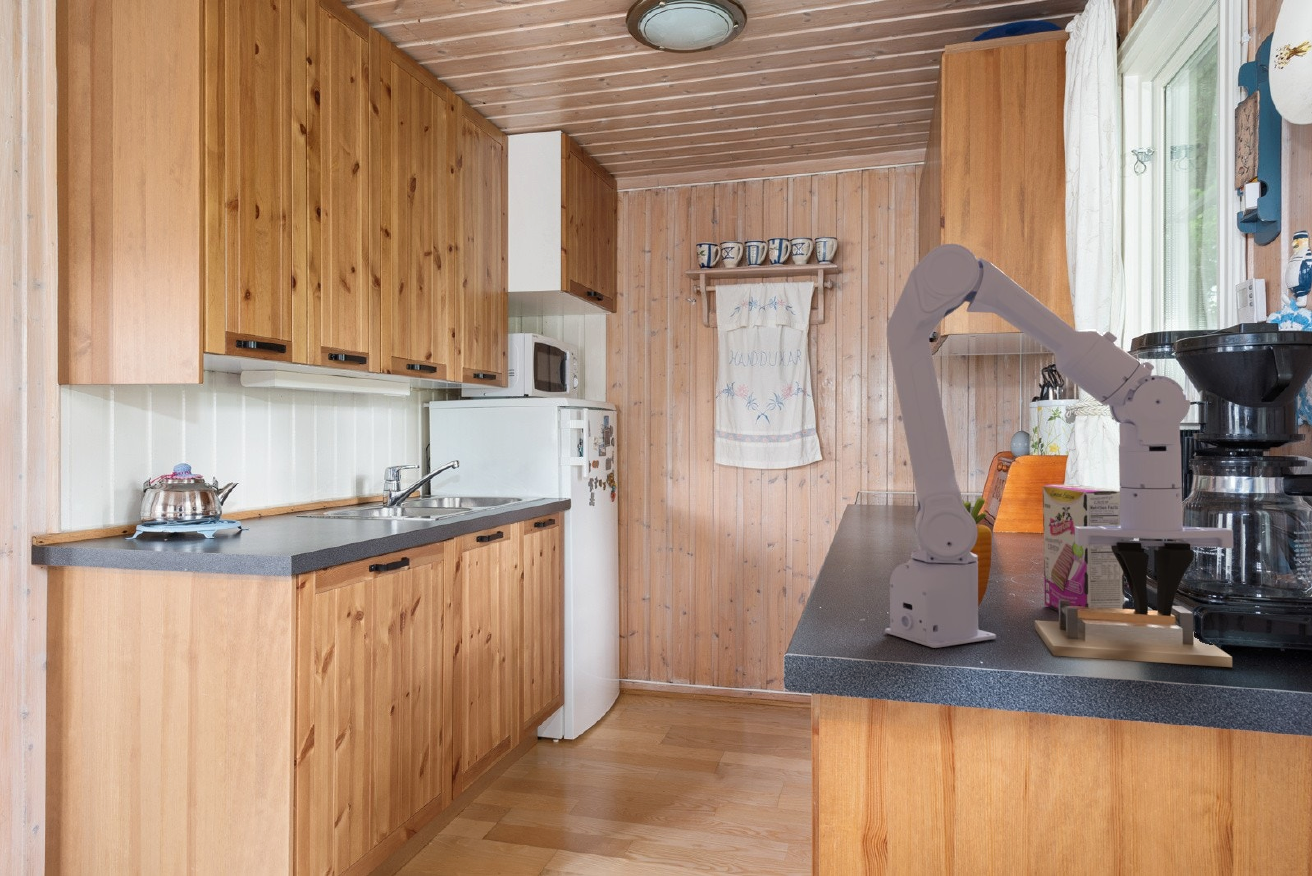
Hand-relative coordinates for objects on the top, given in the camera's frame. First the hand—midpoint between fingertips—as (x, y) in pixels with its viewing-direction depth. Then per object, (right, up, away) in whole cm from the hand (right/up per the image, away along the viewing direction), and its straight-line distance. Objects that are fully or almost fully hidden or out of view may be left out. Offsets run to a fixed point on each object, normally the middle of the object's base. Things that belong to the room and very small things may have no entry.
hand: (1152, 613), depth 86 cm
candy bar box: (+1, -4, +16) cm, 16 cm away
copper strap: (-3, -1, +1) cm, 4 cm away
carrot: (-12, -4, +19) cm, 22 cm away
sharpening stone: (-3, -4, +1) cm, 5 cm away
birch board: (-3, -4, +1) cm, 5 cm away
